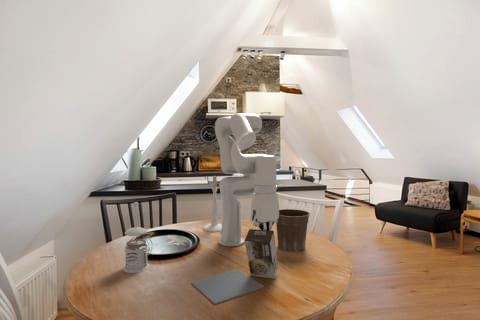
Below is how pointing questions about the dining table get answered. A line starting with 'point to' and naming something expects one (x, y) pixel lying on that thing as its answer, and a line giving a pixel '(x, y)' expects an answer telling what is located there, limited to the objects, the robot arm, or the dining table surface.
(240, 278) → the mat
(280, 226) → the plant pot
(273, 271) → the coffee box
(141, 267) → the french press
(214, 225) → the candlestick
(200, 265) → the dining table surface
